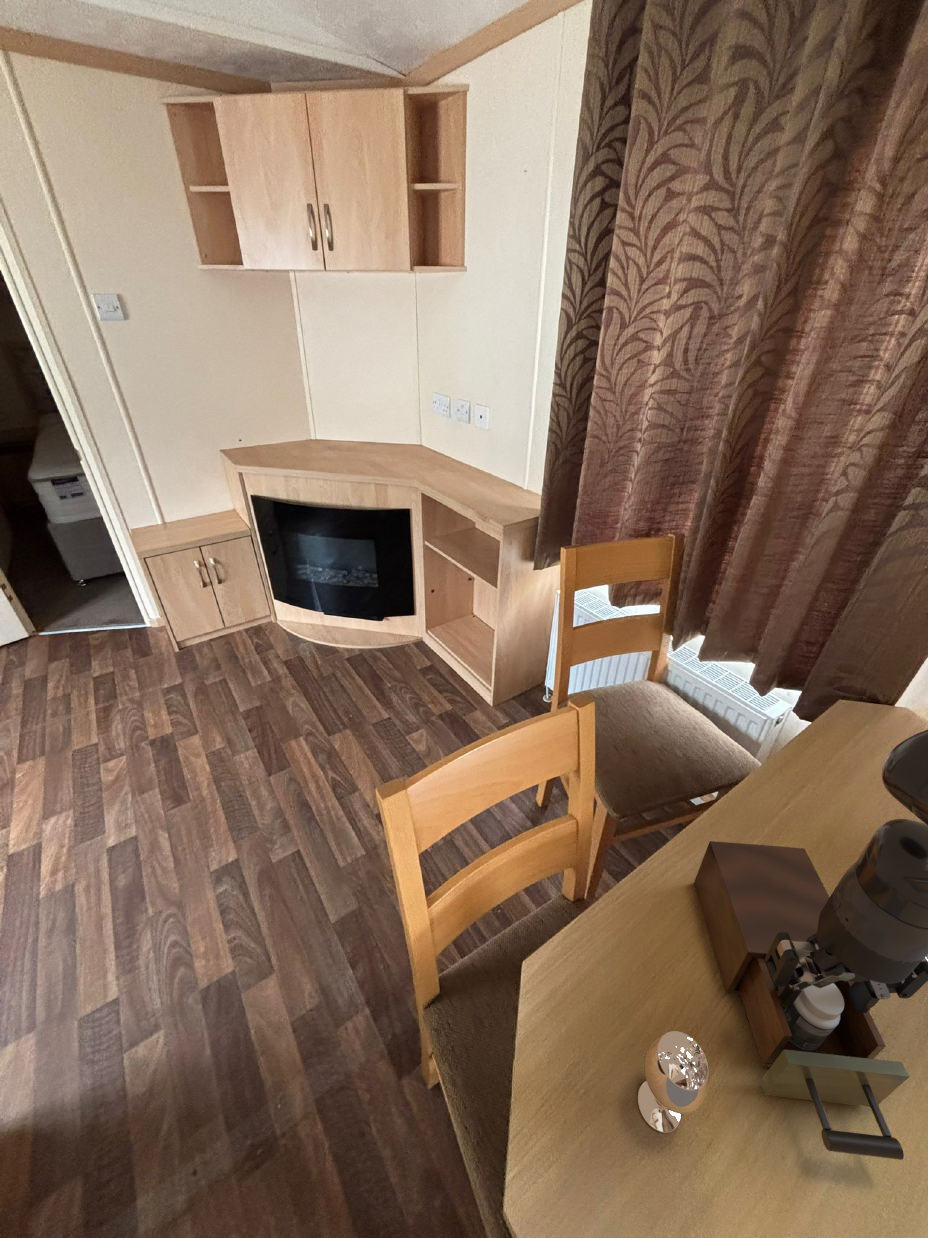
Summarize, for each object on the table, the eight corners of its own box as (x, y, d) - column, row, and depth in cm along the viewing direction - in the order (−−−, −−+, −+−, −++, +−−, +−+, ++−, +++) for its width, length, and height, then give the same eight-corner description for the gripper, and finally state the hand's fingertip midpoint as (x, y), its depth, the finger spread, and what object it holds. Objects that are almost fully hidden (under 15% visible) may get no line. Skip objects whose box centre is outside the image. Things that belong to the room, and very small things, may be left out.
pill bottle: (777, 995, 64) (800, 960, 59) (821, 1019, 62) (849, 984, 57) (773, 1035, 60) (796, 1001, 56) (820, 1062, 58) (849, 1028, 54)
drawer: (906, 1179, 51) (947, 1152, 47) (785, 1164, 52) (813, 1136, 48) (815, 969, 67) (839, 935, 63) (723, 961, 68) (740, 926, 64)
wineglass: (621, 1105, 57) (640, 1059, 51) (647, 1058, 60) (668, 1010, 54) (671, 1158, 53) (698, 1116, 47) (696, 1106, 57) (725, 1060, 50)
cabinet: (831, 1004, 65) (863, 963, 59) (725, 994, 66) (748, 952, 61) (781, 890, 77) (804, 848, 72) (693, 883, 78) (709, 840, 73)
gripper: (818, 952, 46) (764, 1033, 55) (996, 968, 45) (911, 1048, 53) (782, 872, 52) (739, 956, 61) (937, 884, 51) (870, 968, 60)
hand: (819, 999), depth 57 cm, fingers open, 7 cm apart
